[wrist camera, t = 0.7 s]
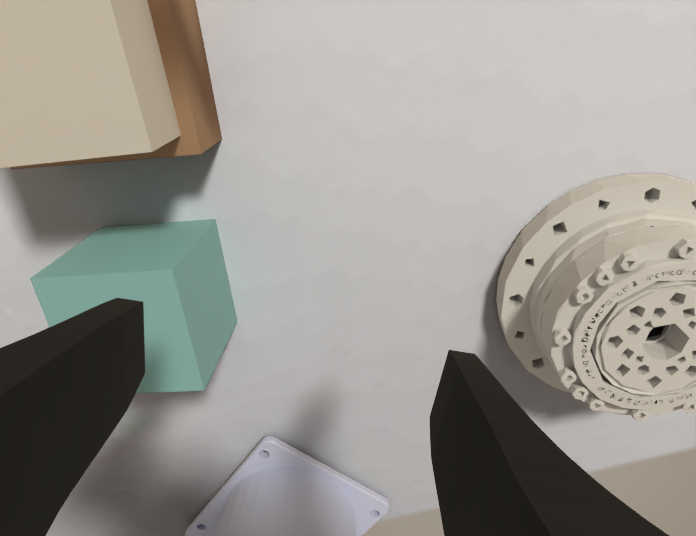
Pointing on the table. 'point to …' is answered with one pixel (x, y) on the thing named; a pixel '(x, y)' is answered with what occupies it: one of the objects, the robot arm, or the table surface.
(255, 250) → the table surface
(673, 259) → the mechanical component
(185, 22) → the slab base
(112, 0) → the slab top
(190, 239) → the cube
